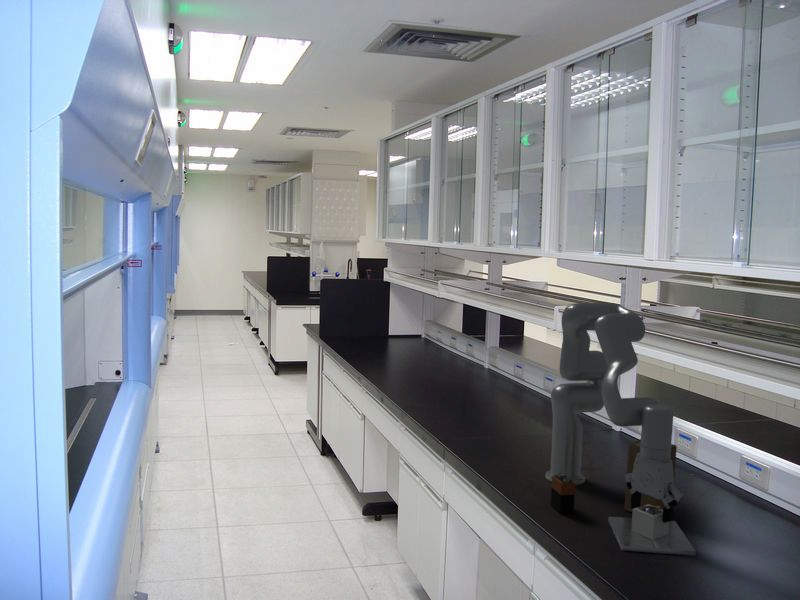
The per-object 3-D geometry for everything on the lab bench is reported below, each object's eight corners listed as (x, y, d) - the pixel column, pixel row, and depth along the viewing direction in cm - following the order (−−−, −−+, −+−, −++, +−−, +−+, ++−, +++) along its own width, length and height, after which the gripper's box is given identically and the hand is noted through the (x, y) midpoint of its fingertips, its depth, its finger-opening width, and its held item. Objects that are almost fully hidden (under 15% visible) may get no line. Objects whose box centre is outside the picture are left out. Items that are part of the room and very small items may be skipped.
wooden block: (672, 512, 200) (677, 445, 198) (656, 521, 193) (661, 452, 191) (640, 501, 207) (644, 436, 205) (623, 510, 200) (627, 443, 198)
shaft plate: (608, 520, 192) (610, 493, 192) (674, 525, 191) (676, 497, 190) (621, 550, 175) (623, 520, 174) (695, 555, 173) (697, 525, 172)
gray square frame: (631, 530, 183) (632, 507, 183) (647, 525, 187) (648, 502, 187) (652, 539, 178) (654, 515, 177) (668, 534, 182) (670, 510, 181)
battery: (563, 504, 203) (565, 471, 202) (574, 513, 197) (576, 479, 196) (549, 505, 202) (551, 472, 201) (560, 514, 196) (562, 480, 195)
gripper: (618, 445, 185) (614, 506, 187) (675, 464, 171) (670, 530, 173) (636, 440, 189) (632, 500, 191) (693, 459, 175) (688, 523, 177)
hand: (650, 514), depth 182 cm, fingers open, 9 cm apart
